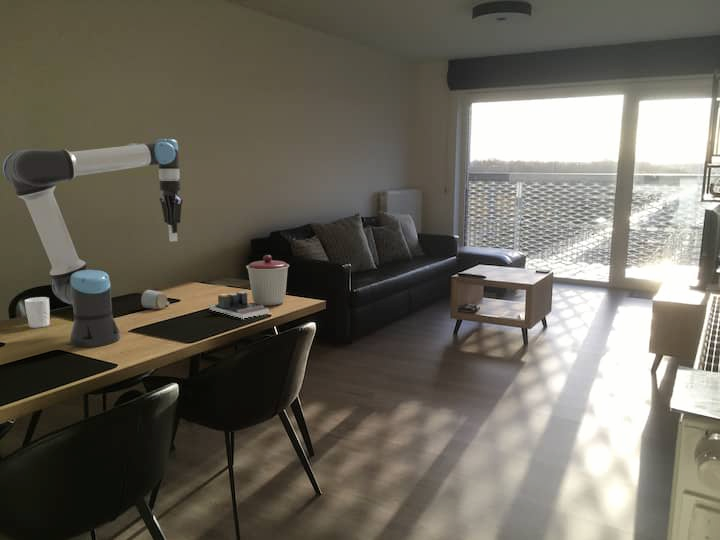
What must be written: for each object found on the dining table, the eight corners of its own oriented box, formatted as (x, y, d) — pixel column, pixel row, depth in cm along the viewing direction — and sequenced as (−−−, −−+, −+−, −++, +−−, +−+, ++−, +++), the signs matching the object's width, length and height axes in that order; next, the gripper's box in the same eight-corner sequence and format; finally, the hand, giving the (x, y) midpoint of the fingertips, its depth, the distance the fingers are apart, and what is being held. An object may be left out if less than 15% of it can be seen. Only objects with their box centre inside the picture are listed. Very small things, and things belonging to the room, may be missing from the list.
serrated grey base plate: (242, 319, 218) (241, 301, 217) (209, 310, 232) (208, 294, 231) (269, 313, 228) (268, 296, 226) (235, 305, 242) (235, 289, 241)
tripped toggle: (224, 307, 226) (223, 295, 226) (218, 306, 229) (217, 294, 228) (229, 306, 228) (229, 294, 228) (223, 305, 231) (223, 293, 230)
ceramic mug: (157, 311, 232) (156, 292, 231) (141, 309, 235) (140, 291, 234) (174, 306, 242) (173, 288, 241) (158, 304, 245) (157, 287, 244)
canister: (283, 308, 235) (281, 258, 231) (241, 307, 238) (239, 257, 234) (295, 299, 253) (293, 252, 249) (256, 298, 255) (254, 251, 252)
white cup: (56, 323, 214) (53, 297, 212) (39, 329, 207) (36, 302, 205) (39, 322, 216) (36, 296, 214) (22, 327, 209) (19, 301, 207)
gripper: (187, 180, 217) (191, 241, 221) (169, 180, 225) (173, 239, 229) (169, 180, 211) (173, 243, 215) (152, 180, 220) (156, 240, 224)
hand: (173, 241), depth 222 cm, fingers closed
